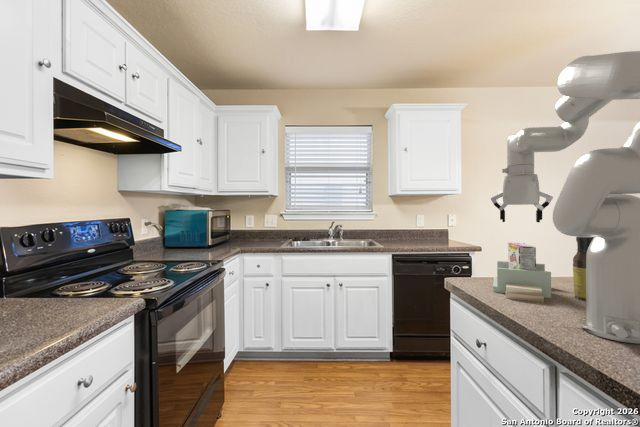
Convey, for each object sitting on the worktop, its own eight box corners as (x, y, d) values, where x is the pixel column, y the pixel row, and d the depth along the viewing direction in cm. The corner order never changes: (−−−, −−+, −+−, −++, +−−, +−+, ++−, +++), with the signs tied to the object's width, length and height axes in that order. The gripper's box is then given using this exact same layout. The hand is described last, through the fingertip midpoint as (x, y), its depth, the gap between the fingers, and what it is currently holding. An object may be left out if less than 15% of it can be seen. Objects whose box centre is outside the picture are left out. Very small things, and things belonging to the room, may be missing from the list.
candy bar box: (507, 287, 106) (507, 242, 106) (523, 288, 105) (523, 242, 104) (519, 297, 95) (518, 246, 95) (537, 298, 94) (536, 246, 94)
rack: (551, 302, 90) (551, 272, 90) (493, 295, 98) (493, 268, 97) (544, 289, 103) (544, 263, 103) (493, 284, 111) (493, 260, 111)
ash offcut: (542, 296, 86) (542, 290, 86) (506, 292, 91) (506, 286, 91) (540, 292, 90) (540, 286, 90) (506, 288, 94) (506, 283, 94)
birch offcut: (544, 303, 86) (543, 296, 86) (505, 298, 91) (505, 292, 91) (542, 298, 90) (542, 292, 90) (505, 294, 95) (505, 288, 95)
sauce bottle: (597, 301, 90) (597, 235, 89) (605, 307, 84) (605, 237, 84) (570, 298, 93) (570, 235, 92) (576, 304, 87) (576, 237, 87)
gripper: (490, 172, 101) (490, 222, 101) (554, 168, 92) (554, 223, 92) (490, 173, 107) (491, 221, 108) (551, 170, 98) (550, 221, 99)
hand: (520, 221), depth 100 cm, fingers open, 9 cm apart
